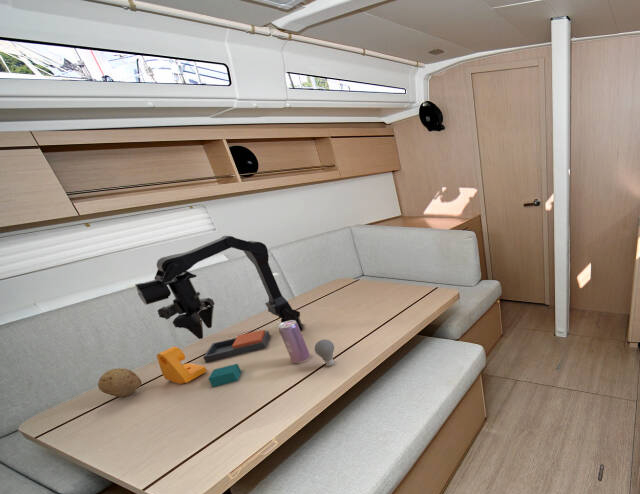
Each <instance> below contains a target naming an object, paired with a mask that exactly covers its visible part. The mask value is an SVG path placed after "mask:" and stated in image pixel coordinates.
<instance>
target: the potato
mask: <svg viewBox="0 0 640 494" xmlns="http://www.w3.org/2000/svg"><path fill="white" fill-rule="evenodd" d="M140 386H142V380H141V378H140V377H139V376H138V375H137V374H136V373H135V372H134V371H133V370H131V369H128V368H123V367H121V368H120V367H119V368H111V369H109V370H108V371H106V372H104V373H103V374H102V375H101V376H100V378H99V379H98V382H97V387H98V389H99V390H100V391H101V393H104V394H106V395H109V396H112V397H113V396H114V397H116V398H117V397H118V398H125V397H126V398H127V397H128V396H131V395H132V394H133V393H135V391H136V390H137V389H139V388H140Z"/></svg>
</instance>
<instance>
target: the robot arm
mask: <svg viewBox="0 0 640 494" xmlns="http://www.w3.org/2000/svg"><path fill="white" fill-rule="evenodd" d="M229 249H236V250H239V251H242V252H243V253H244V254H245V256H246V258H247V259H248V260H250V262H251V263H252V264H253V265H254V267H255V269H256V271H257V273H258V276H259V278H260V281H261V283H262V285H263V288H264V290H265V293H266V294H267V296H268V301H267V302H265V303H264V304H265V306H266V307H267V312H268V313H271V314H272V315H273V316H277V317H278V318H280V324H281V323H283V322H285V321H289V320H295V321H296V322H297V323H298V326H299V328H300V331H301V332H302V331H303V329H304V327H303V326H304V323H302V321H301V311H298V310H296V309H293V308H292V306H291V304H290V302H289V301H288V300H287V299H286V298H285V297H284V296H283V295H282V292H281V290H280V287H279V285H278V283H277V280H276V278H275V275H274V273H273V271H272V269H271V266H270V264H269V260H270V259H269V258H270V257H269V256H270V255H269V250H268V247H267V245H266V244H265V243H263V242H261V241H254V240H244V239H240V238H237V237H234V236H232V235H223V236H221V237H219V238H218V239H215V240H213V241H210V242H207V243H205V244H203V245H200V246H198V247H196V248H193V249H191V250H188V251H186V252H180V253H175V254H170V255H167V256H162V257H161V258H159V259H158V260H157V262H156V268H157V271H156V273H155V276H154V278H153V280H149V281H145V282H140V283H135V284H134V286H135V288H136V291H137V295H138V297H139V298H140V300H141V301H142V303H143V304H144V305H145V306H146V305H151V304H154V303H158V302H161V301H165V300H168V299H169V298H170V297H171V295H173V296H174V299H173V300H172V303H170V304H169V305H167V306H162V307H160V308H159V309H157V314H158V317H159V318H162V319H165V320H170V318H171V317H174V316H175V315H177V314H178V315H177V316H176V317H175V318H174V319H173V320H172V322H171V323H172V324H173V326H174V328H175V329H176V328H178V329H186V330H188V331H189V332H190V333H191V334H193V336H195V337H196V338H197V339H199V340H202V339H204V329H203V324H204V325H205V327H206V328H207V329H211V328H212V327H213V317H214V308H215V306H214V305H215V302H214V300H213V299H212V298H210V297H206V298H200V296H201V293H200V291H196V287H194V285H193V283H192V281H191V279H194V278H196V277H197V274H194V273H192V272H190V271H189V270H190V269H192V268H193V266H195V265H196V264H198V263H199V262H201V261H204V260H206V259H208V258H210V257H213V256H215V255H217V254H220V253H222V252H225V251H227V250H229Z"/></svg>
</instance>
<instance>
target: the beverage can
mask: <svg viewBox="0 0 640 494" xmlns="http://www.w3.org/2000/svg"><path fill="white" fill-rule="evenodd" d="M277 327H278V331H279V334H280V336H281V338H282V341H283V344H284V346H285V349H286V351H287V353H288V356H289V358H290V360H291V362H292V363H293V364H302V363H304V362H307V361H308V360H309V359H310V358H311V357H310V356H311V354H310V352H309V350H308V347H307V344H306V341H305V338H304V336H303V334H302V331H300V328H299V326H298V323H297V322H296V321H295V320H289V321H285V322H283V323H281V322H280V323H279V324H278V325H277Z"/></svg>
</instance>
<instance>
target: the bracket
mask: <svg viewBox="0 0 640 494" xmlns="http://www.w3.org/2000/svg"><path fill="white" fill-rule="evenodd" d="M156 359H157V361H158V365H159V367H160V371H161V373H162V376H163V378H164V379H165V380H167V381H170V382H171V383H175V384H179V385H183V384H187V383H189V382H191V381H192V380H194V379H196V378H198V377H200V376H202V375H203V374H205V373H206V372H207V371H208V370H207V368H206V366H205V365H201V364H195V363H194V364H193V363H186V362H185V363H183V364H182V361H183V360H185V359H186V355H185V353H184V352H183V350H182V349H180V348H179V347H177V346H172V347H170V348H168V349H165V350H163V351H161V352H159V353H157V354H156Z"/></svg>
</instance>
